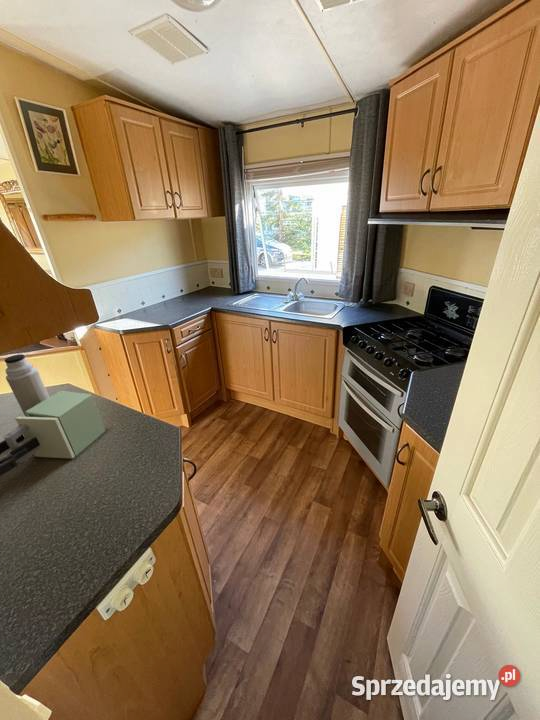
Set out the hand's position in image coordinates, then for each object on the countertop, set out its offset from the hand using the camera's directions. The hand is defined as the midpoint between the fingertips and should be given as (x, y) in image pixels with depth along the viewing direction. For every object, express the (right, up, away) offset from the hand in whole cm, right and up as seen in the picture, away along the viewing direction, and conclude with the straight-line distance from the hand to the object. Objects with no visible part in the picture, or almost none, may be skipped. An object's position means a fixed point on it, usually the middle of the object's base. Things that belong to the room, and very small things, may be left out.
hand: (29, 438), depth 84 cm
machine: (+6, -4, +11) cm, 13 cm away
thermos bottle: (-8, -2, +17) cm, 19 cm away
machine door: (+4, -8, +2) cm, 9 cm away
